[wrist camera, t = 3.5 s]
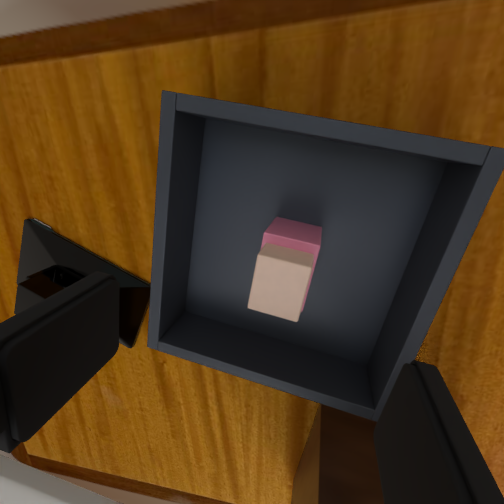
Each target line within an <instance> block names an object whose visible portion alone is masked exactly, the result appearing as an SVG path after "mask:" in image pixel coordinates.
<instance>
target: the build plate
mask: <svg viewBox="0 0 504 504" xmlns="http://www.w3.org/2000/svg"><path fill="white" fill-rule="evenodd" d="M97 271H99V272H103V273H106V274H110V275H113V276H115V278H116V281H118V282H119V285H120V293H119V343H121V344H123V345H125V346H126V347H128V348H132V347H133V346H134V344H135V341H136V339H137V336H138V333H139V330H140V327H141V324H142V322H143V319H144V316H145V313H146V310H147V308H148V305H149V302H150V290H151V284H149V283H147V282H146V281H144V280H142V279H140V278H138V277H136V276H135V275H133V274H131V273H129V272H127V271H125V270H124V269H122V268H120V267H118V266H116V265H114V264H112V263H111V262H109V261H107V260H105V259H103V258H101V257H100V256H98V255H96V254H94V253H92V252H90V251H89V250H87V249H85V248H83V247H81V246H79V245H78V244H76V243H74V242H72V241H70V240H68V239H67V238H65V237H63V236H61V235H59V234H57V233H56V232H54V230H53V229H52V228H51V227H50V226H48V225H46V224H45V223H43V222H41V221H39V220H37V219H25V220H24V227H23V235H22V243H21V251H20V259H19V268H18V276H17V285H18V287H17V295H16V303H15V311H14V314H16V315H17V314H18V313H20V312H22V311H24V310H26V309H28V308H29V307H31V306H33V305H35V304H37V303H39V302H40V301H42V300H44V299H46V298H48V297H50V296H52V295H53V294H55V293H57V292H59V291H61V290H63V289H64V288H66V287H68V286H70V285H72V284H74V283H76V282H77V281H79V280H81V279H83V278H85V277H87V276H88V275H90V274H92V273H94V272H97Z"/></svg>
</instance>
